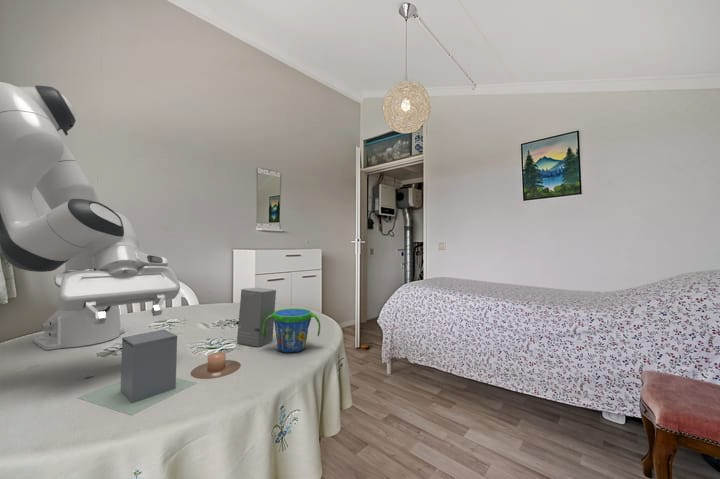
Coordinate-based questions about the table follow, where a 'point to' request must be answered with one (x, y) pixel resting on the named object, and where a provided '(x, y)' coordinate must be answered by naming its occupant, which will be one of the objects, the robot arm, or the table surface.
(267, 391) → the table surface
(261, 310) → the skincare box
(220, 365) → the brown knobbed lid
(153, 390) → the gray box
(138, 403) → the mat
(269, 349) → the table surface
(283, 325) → the snack cup
